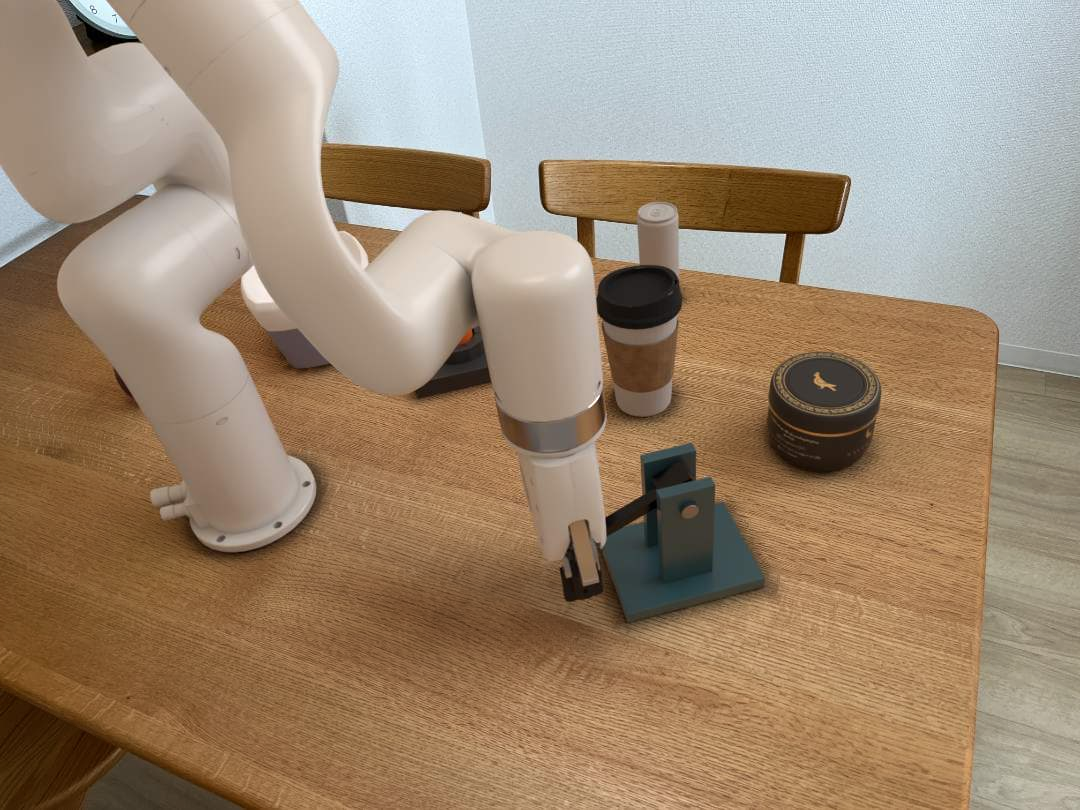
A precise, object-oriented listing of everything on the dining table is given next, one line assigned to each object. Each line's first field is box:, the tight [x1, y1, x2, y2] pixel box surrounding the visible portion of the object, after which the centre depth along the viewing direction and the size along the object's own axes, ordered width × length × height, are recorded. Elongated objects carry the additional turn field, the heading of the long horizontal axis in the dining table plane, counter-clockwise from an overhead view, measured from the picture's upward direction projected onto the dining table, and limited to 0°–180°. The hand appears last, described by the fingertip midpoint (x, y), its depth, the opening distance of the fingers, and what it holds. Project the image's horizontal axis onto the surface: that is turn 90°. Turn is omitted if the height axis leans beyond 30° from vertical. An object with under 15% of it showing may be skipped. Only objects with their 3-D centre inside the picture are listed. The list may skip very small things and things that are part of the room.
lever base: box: [600, 442, 766, 624], centre depth 67 cm, size 12×9×12 cm
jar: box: [766, 351, 882, 472], centre depth 77 cm, size 10×10×8 cm
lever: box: [568, 460, 697, 560], centre depth 65 cm, size 12×5×2 cm, turn 102°
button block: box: [415, 326, 491, 399], centre depth 95 cm, size 12×10×4 cm
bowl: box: [240, 230, 370, 369], centre depth 100 cm, size 15×15×11 cm
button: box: [458, 329, 473, 345], centre depth 94 cm, size 4×4×2 cm
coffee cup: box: [596, 264, 683, 418], centre depth 83 cm, size 8×8×15 cm
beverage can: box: [636, 201, 680, 280], centre depth 98 cm, size 5×5×12 cm
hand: (574, 566), depth 68 cm, fingers closed on lever, 5 cm apart
